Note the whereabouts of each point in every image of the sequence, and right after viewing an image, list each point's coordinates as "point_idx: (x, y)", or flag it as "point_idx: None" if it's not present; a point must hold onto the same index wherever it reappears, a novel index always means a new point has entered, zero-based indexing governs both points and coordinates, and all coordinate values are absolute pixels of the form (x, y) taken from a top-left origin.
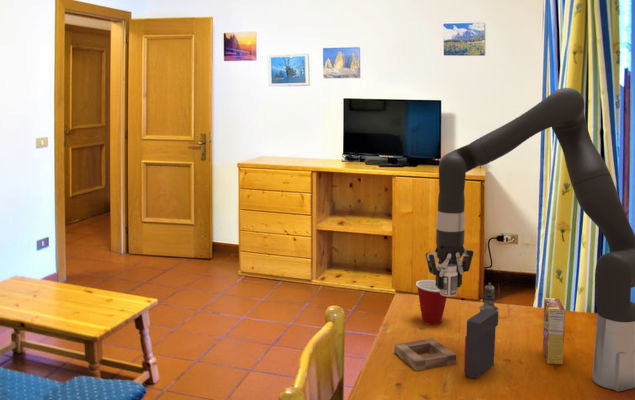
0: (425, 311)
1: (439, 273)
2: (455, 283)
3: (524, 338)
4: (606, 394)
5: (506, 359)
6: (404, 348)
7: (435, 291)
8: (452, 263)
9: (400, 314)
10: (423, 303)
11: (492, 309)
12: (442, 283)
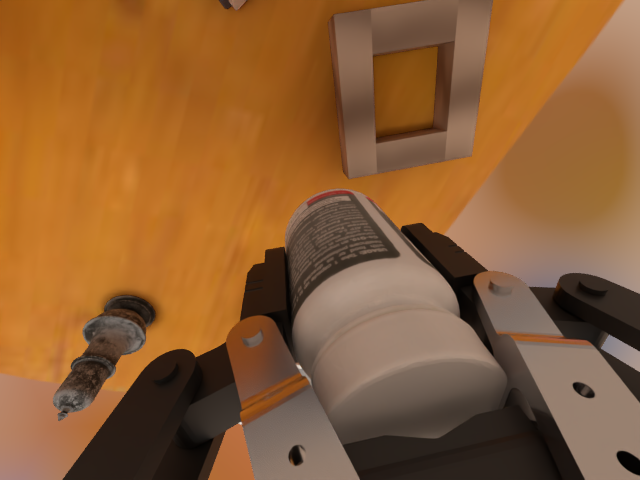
0: None
1: (529, 294)
2: (328, 230)
3: (29, 176)
4: None
5: (132, 6)
6: (464, 118)
7: (296, 363)
8: (418, 443)
9: None
10: None
11: (104, 324)
12: (431, 242)
